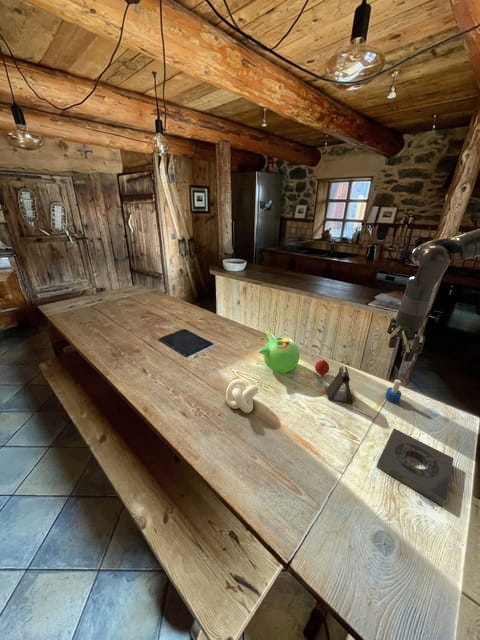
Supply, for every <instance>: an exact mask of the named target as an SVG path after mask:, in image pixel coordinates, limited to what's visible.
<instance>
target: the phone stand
mask: <svg viewBox="0 0 480 640" xmlns="http://www.w3.org/2000/svg"><path fill="white" fill-rule="evenodd" d="M344 369H345V371H344ZM350 381H351V377H350V374H349V370H348V367H346V366H340V367H339V369H338V373H337V374H336V376H335V377H334V378H333V380H332V381H331V383H330V384H329V385H328V387H327V388H326V392H327V393H326V394H327V400H328V401H334V402H341V403H347V404H354V401H353V397H352V391H351V388H350ZM343 384H344V390H340V389H341V388H342V386H343Z"/></svg>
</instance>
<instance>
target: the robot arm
mask: <svg viewBox="0 0 480 640" xmlns="http://www.w3.org/2000/svg"><path fill="white" fill-rule="evenodd" d="M410 256H411V261H412V263H413V264H414V265H415V266H417V267H418V269H417V272H416V274H415V275H413V276H411V277H409V279H408V280H407V283H406V287H405V290H404V293H403V296H402V298H401V299H400V303H399V307H398V310H397V314H396V317H392V318H390V321H389V324H388V328H387V330H386V333H387V334H389V342H388V346H387V347H388V348H389V349H396V347H397V343H398V340H399V338H400V339H401V340H402V341H403V345H404V346H405V348H406V351H405V354H404V357H403V359H402V360H403V362H405V363H411V362H412V361H413V359H414V356H415V355H419V354H420V355H421V354H422V351H423V349H424V346H425V341H426V335H421V334H419V330H420V329H421V328H423V326H424V323H425V321H426V317H427V315H428V312H429V309H430V306H431V301H432V297H433V295H434V291H435V289H436V286H437V284H438V283H439V282H440V280H441V279H442V277H443V276H444V274H445V272H446V270H447V269H448V266H449V265H450V262H451V261H450V260H459V261H461V260H462V261H464V260H469V259H472V258H476V257H480V228H476V229H474V230H473V229H472V230H470V231H468V232H464V233H461V234H458V235H455V236H449V237H444V238H439V239H433V240H430V241H426V242H424V243H421V244H419V245H418V246H416V247H415V248H414V249H413V251H412V252H411V255H410Z"/></svg>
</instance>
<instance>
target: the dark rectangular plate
mask: <svg viewBox="0 0 480 640" xmlns="http://www.w3.org/2000/svg"><path fill="white" fill-rule="evenodd" d="M406 457H411V458H414V459H415V460H418V462H420V463H421V464H422V465H423V467H424V468H419V467H415V466H414V465H413V464H411V463H410V462H409V461H408V459H407V458H406ZM453 465H454V457H452V456H450V455H448V454H446V453H444V452H442V451H440V450H438V449H436V448H435V447H432V446H430V445H428V444H427V443H424V442H422V441H420V440H418V439H416V438H415V437H412V436H410V435H408V434H407V433H404V432H402V431H400V430H398V429H396V428H393V429H392V431H391V434H390V435H389V438H388V440H387V442H386V444H385V445H384V448H383V450H382V452H381V454H380V456H379V459H378V460H377V463H376V466H375V467H376V468H377V469H379V470H381V471H383V472H385V473H386V474H388V475H389V476H391V477H392V478H394V479H396V480H398V481H399V482H400V483H403V484H404V485H406V486H408V487H409V488H411V489H413V490H414V491H416V492H417V493H419V494H421V495H423V496H424V497H426V498H428V499H429V500H430V501H433V502H434V503H436V504H437V505H439V506H441V507H443V506H444V505H445V503H446V501H447V495H448V492H449V485H450V480H451V475H452V470H453Z"/></svg>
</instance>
